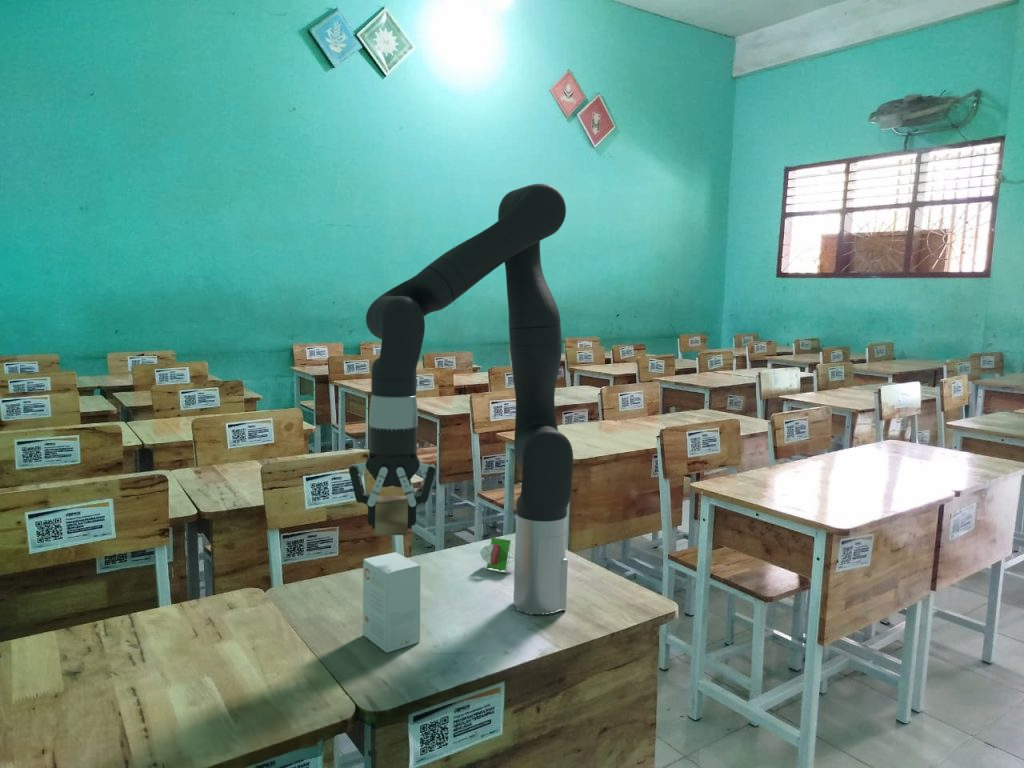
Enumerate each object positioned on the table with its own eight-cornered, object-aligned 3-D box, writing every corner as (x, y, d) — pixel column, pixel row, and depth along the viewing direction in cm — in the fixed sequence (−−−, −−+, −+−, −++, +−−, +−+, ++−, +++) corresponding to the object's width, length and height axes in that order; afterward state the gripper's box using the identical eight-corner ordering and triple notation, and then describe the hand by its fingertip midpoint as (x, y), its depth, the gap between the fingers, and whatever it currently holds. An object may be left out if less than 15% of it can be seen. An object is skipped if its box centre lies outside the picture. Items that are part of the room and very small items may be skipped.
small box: (420, 642, 114) (421, 565, 113) (386, 654, 110) (386, 573, 109) (395, 625, 121) (396, 550, 119) (361, 635, 117) (361, 558, 115)
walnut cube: (408, 525, 116) (409, 495, 116) (407, 535, 111) (407, 504, 111) (377, 525, 116) (378, 495, 115) (374, 535, 111) (375, 504, 110)
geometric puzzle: (494, 549, 153) (485, 527, 148) (523, 554, 150) (515, 531, 145) (482, 578, 148) (472, 555, 143) (512, 583, 146) (503, 561, 141)
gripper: (439, 420, 116) (437, 520, 118) (350, 418, 115) (349, 520, 117) (439, 427, 109) (436, 535, 111) (344, 426, 107) (343, 535, 109)
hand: (392, 527), depth 114 cm, fingers closed on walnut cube, 5 cm apart
